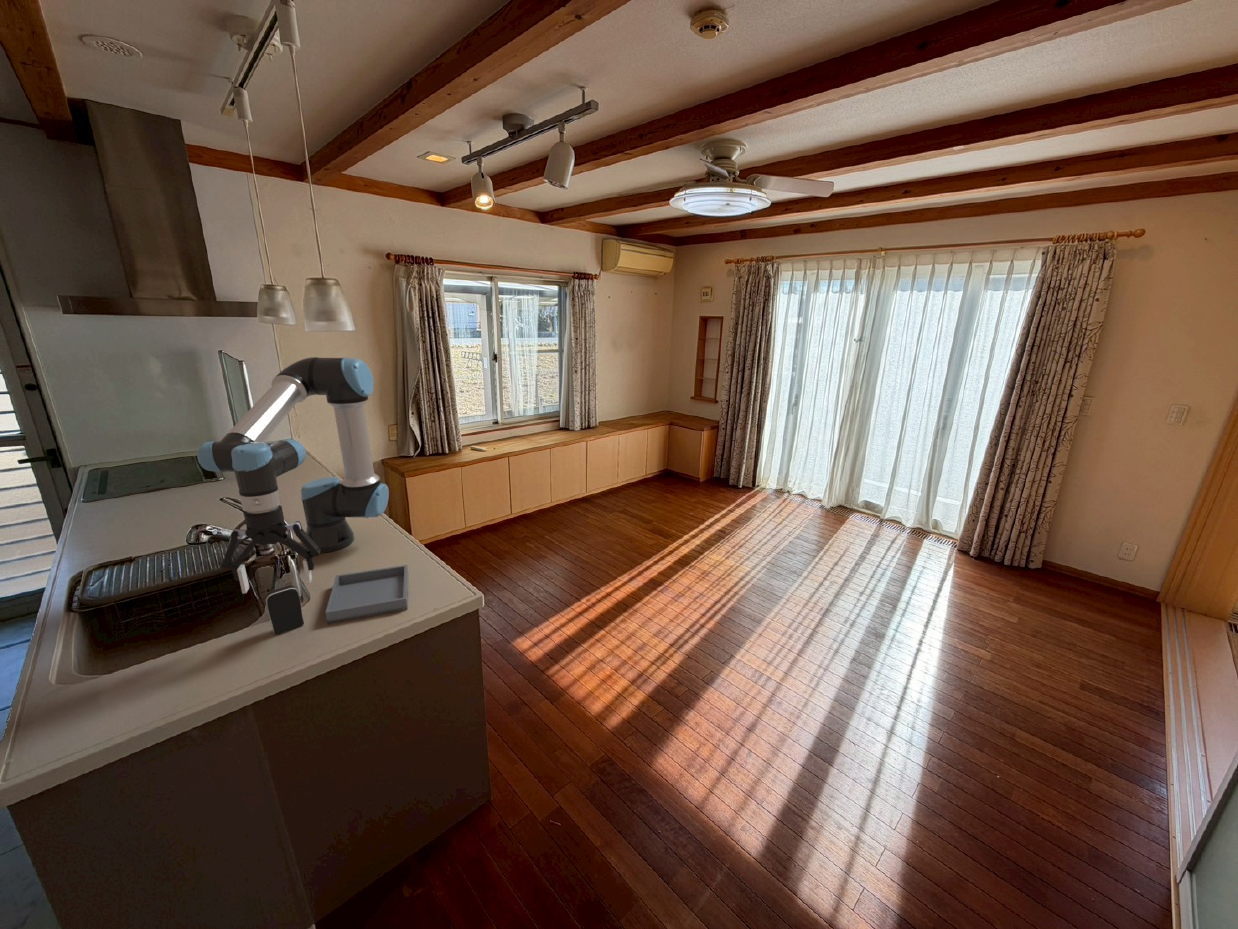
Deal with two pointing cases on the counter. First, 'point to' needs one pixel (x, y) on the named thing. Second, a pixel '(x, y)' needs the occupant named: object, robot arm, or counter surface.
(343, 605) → the tray
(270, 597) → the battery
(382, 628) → the counter surface
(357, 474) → the robot arm
